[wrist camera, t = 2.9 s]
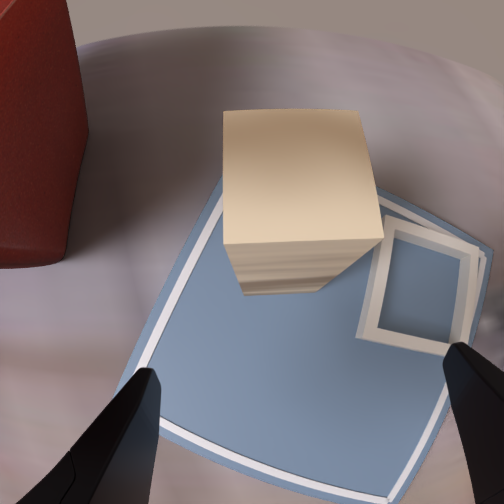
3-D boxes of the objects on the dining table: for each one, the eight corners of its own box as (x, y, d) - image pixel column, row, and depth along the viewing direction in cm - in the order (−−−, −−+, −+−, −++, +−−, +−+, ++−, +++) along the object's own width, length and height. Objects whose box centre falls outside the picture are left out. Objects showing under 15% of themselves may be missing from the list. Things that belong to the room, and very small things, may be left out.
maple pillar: (315, 292, 20) (384, 238, 9) (244, 295, 20) (223, 244, 9) (309, 225, 21) (358, 110, 10) (241, 227, 21) (223, 111, 10)
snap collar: (453, 358, 19) (464, 359, 17) (355, 337, 19) (362, 338, 18) (468, 252, 21) (479, 247, 19) (378, 221, 21) (385, 214, 20)
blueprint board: (486, 253, 22) (494, 250, 20) (387, 507, 17) (391, 513, 16) (246, 139, 24) (246, 131, 23) (115, 402, 20) (109, 405, 18)
